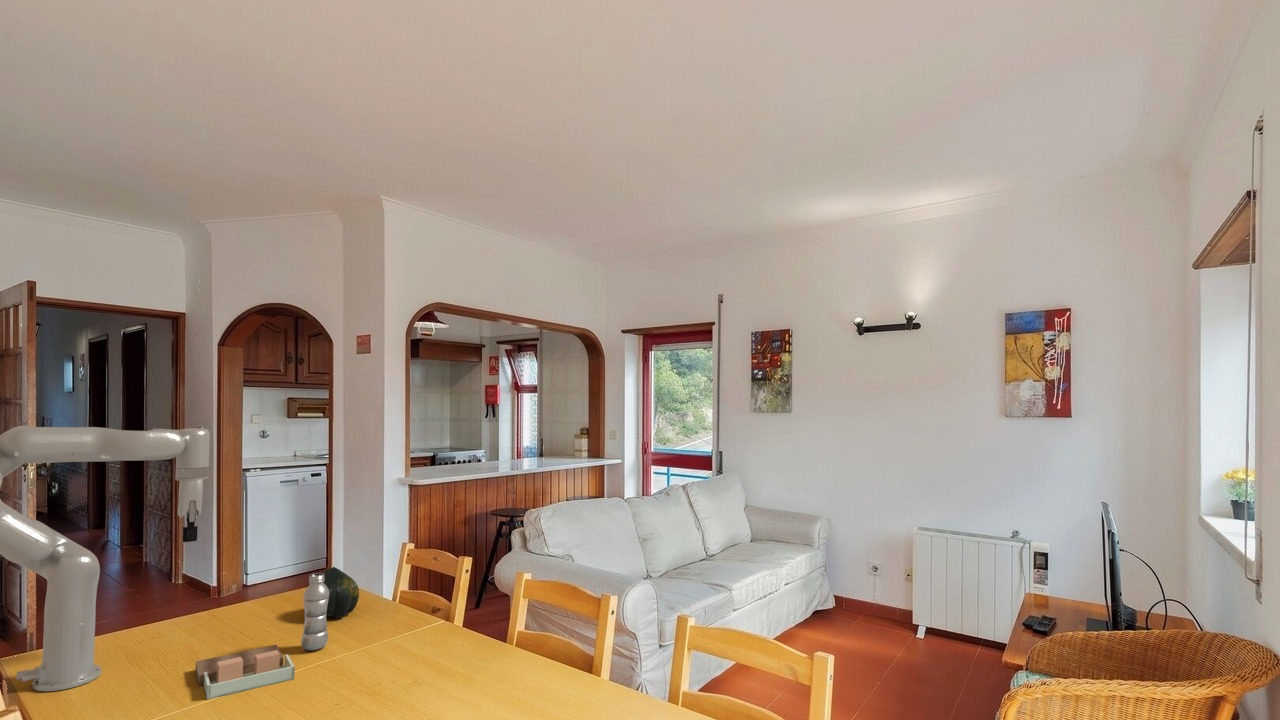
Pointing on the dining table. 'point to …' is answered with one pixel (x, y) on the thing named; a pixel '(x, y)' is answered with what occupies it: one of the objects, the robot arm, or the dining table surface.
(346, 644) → the dining table surface
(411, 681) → the dining table surface
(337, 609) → the squash
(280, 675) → the tray
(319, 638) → the plastic bottle
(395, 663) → the dining table surface
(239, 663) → the tile
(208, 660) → the board
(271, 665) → the tile
